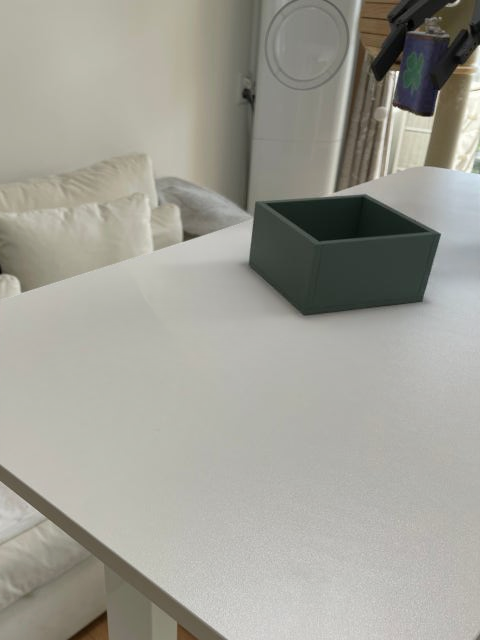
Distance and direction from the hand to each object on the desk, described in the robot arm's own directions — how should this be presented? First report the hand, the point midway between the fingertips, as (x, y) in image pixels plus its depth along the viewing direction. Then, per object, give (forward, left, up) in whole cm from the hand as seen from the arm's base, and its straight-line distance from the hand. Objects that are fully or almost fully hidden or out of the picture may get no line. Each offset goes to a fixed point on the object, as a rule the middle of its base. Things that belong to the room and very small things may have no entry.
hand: (404, 77), depth 83 cm
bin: (+17, +18, -19) cm, 31 cm away
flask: (-3, -1, -4) cm, 5 cm away
